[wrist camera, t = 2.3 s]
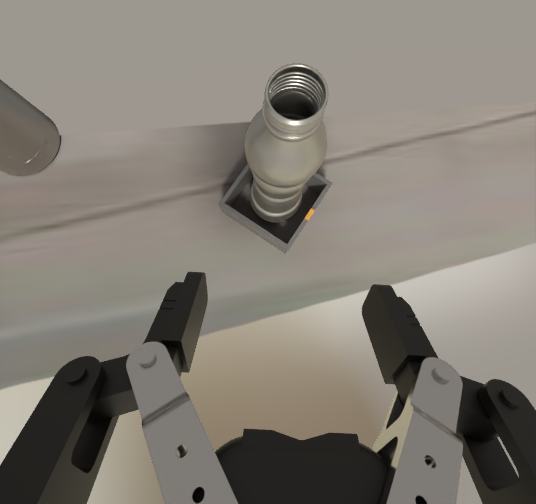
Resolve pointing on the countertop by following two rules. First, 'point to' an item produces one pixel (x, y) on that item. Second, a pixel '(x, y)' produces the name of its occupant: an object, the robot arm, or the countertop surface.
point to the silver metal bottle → (286, 140)
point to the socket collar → (225, 204)
